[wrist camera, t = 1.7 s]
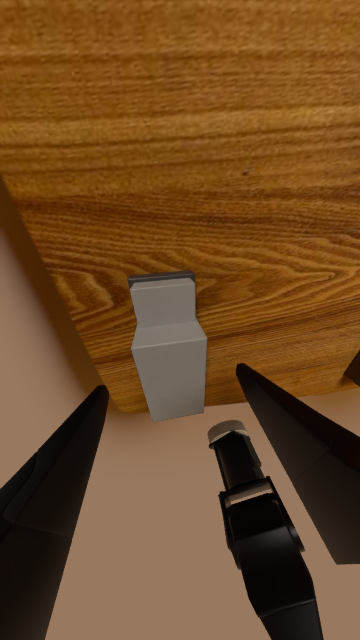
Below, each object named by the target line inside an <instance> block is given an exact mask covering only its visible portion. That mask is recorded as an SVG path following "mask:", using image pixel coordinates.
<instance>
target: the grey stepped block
mask: <svg viewBox="0 0 360 640" xmlns="http://www.w3.org/2000/svg"><path fill="white" fill-rule="evenodd" d="M128 284H129V288H130V293H131V297H132V301H133V306H134V310H135V314H136V318H137V322H138V324H137V328H136V332H135V336H134V339H133V343H132V347H131V351H132V354H133V357H134V360H135V364H136V367H137V370H138V374H139V377H140V380H141V384H142V387H143V390H144V394H145V397H146V400H147V404H148V407H149V410H150V413H151V416H152V420H153V422H157V421H163V420H168V419H173V418H178V417H184V416H189V415H195V414H200V413H204V399H205V376H206V354H207V337H206V335H205V333H204V331H203V330H202V328H201V326H200V324H199V322H198V320H197V318H196V315H195V273H194V272H192V271H191V270H189V271H177V272H166V273H154V274H143V275H132V276H130V277H129V278H128Z"/></svg>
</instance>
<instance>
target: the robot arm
mask: <svg viewBox="0 0 360 640" xmlns="http://www.w3.org/2000/svg"><path fill="white" fill-rule="evenodd" d="M236 376H237V378H238V380H239V383H240V385H241V387H242V390H243V392H244V394H245V397H246V399H247V401H248V402H249V404H250V406H251V408H252V410H253V412H254V414H255V415H256V417H257V419H258V421H259V423H260V425H261V426H262V428H263V430H264V432H265V434H266V436H267V438H268V439H269V441H270V443H271V445H272V447H273V448H274V450H275V452H276V454H277V456H278V458H279V460H280V462H281V464H282V465H283V467H284V469H285V470H286V473H287V474H288V476H289V478H290V480H291V482H292V483H293V486H294V488H295V490H296V491H297V493H298V495H299V497H300V499H301V501H302V502H303V504H304V506H305V508H306V510H307V512H308V514H309V515H310V517H311V519H312V521H313V523H314V525H315V526H316V528H317V530H318V532H319V534H320V536H321V538H322V540H323V541H324V543H325V545H326V547H327V549H328V551H329V553H330V554H331V556H332V558H333V560H334V561H335V563H336V564H360V437H359V436H357V435H355V434H354V433H352V432H350V431H349V430H347V429H345V428H344V427H342V426H340V425H338V424H337V423H335V422H333V421H332V420H330V419H328V418H327V417H325V416H323V415H321V414H320V413H318V412H317V411H315V410H314V409H312V408H310V407H309V406H307V405H306V404H304V403H303V402H302V401H300V400H298V399H297V398H295V397H294V396H292V395H291V394H289V393H288V392H286V391H285V390H283V389H282V388H280V387H279V386H277V385H276V384H274V383H273V382H271V381H270V380H268V379H267V378H265V377H264V376H262V375H261V374H259V373H258V372H256V371H255V370H253V369H252V368H250V367H249V366H247V365H246V364H244V363H240V364H237V368H236ZM108 400H109V392H108V390H107V388H106V386H105V385H99V386H97V387H96V388H95V389H94V390H93V391H92V393H91V394H90V395H89V396H88V397H87V398H86V399H85V400H84V401H83V402H82V403H81V404H80V405H79V406H78V408H77V409H76V410H75V411H74V412H73V413H72V414H71V415H70V416H69V417H68V418H67V419H66V421H64V423H63V424H62V425H61V426H60V427H59V428H58V429H57V430H56V431H55V432H54V433H53V434H52V436H51V437H50V438H49V439H48V440H47V441H46V442H45V443H44V444H43V445H42V446H41V447H40V448H39V450H38V451H37V452H36V453H35V454H34V455H33V456H32V457H31V458H30V459H29V460H28V461H27V462H26V463H25V464H24V465H23V466H22V467H21V468H20V470H19V471H18V472H17V473H16V474H15V475H14V476H13V477H12V478H11V479H10V480H9V481H8V482H7V483H6V484H5V485H4V486H3V487H2V488H1V489H0V640H45V636H46V633H47V629H48V626H49V622H50V618H51V615H52V611H53V608H54V604H55V600H56V597H57V593H58V589H59V586H60V582H61V579H62V575H63V571H64V568H65V564H66V561H67V557H68V553H69V550H70V546H71V543H72V538H73V535H74V531H75V528H76V524H77V520H78V517H79V513H80V509H81V506H82V502H83V499H84V495H85V491H86V488H87V484H88V480H89V477H90V473H91V469H92V466H93V462H94V459H95V455H96V451H97V448H98V444H99V441H100V437H101V433H102V430H103V426H104V422H105V417H106V411H107V406H108ZM209 448H210V449H214V450H215V454H216V457H217V461H218V464H219V468H220V472H221V476H222V479H223V483H224V486H225V490H226V491H224V492H223V491H221V492H220V494H219V495H218V496H219V500H220V504H221V509H222V514H223V520H224V527H225V534H226V541H227V546H228V548H229V550H230V551H231V552H232V554H233V557H234V560H235V563H236V565H237V568H238V569H239V570H241V571H242V575H243V579H244V583H245V587H246V590H247V594H248V597H249V600H250V602H251V604H252V606H253V608H254V610H255V612H256V614H257V615H258V617H260V619H261V621H262V623H263V625H264V626H265V629H266V630H267V632H268V634H269V636H270V638H271V640H324V639H323V634H322V628H321V623H320V617H319V612H318V607H317V601H316V596H315V590H314V585H313V581H312V577H311V575H310V573H309V570H308V568H307V566H306V564H305V562H304V560H303V558H302V555H301V553H300V552H304V551H305V549H304V546H303V544H302V542H301V540H300V538H299V536H298V533H297V531H296V529H295V527H294V525H293V523H292V521H291V519H290V517H289V515H288V513H287V511H286V509H285V507H284V505H283V503H282V501H281V499H280V497H279V495H278V493H277V491H276V489H275V487H274V485H273V483H272V481H271V479H270V477H269V476H266V478H265V477H264V475H263V473H262V471H261V469H260V467H261V462H260V460H259V458H258V456H257V454H256V452H255V450H254V447H253V445H252V443H251V441H250V437H249V436H246V435H244V434H241V433H239V432H236V431H231V432H229V433H228V434H226V435H224V436H223V437H221V438H219V439H218V440H216V441H214V442H213V443H211V444H210V445H209ZM268 489H271V490H272V493H270V494H269V493H266V494H263V495H260V496H257V497H254V498H250V499H248V500H244V501H241V502H238V503H235V504H232V505H231V503H230V502H231V501H234V500H237V499H240V498H243V497H246V496H249V495H252V494H255V493H258V492H262V491H265V490H268Z"/></svg>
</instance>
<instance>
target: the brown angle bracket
mask: <svg viewBox="0 0 360 640" xmlns="http://www.w3.org/2000/svg"><path fill="white" fill-rule="evenodd" d="M344 375H346V376H347V377H348V378H350V379H351V380H353V382H354V383H356V384H357V385H358V386H360V352H359V353H358V355H357V356H356V357H355V359H354V360H353V362H352V363H351V365H350V366H349V368H348V369H347V370H346V372H345V373H344Z"/></svg>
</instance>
